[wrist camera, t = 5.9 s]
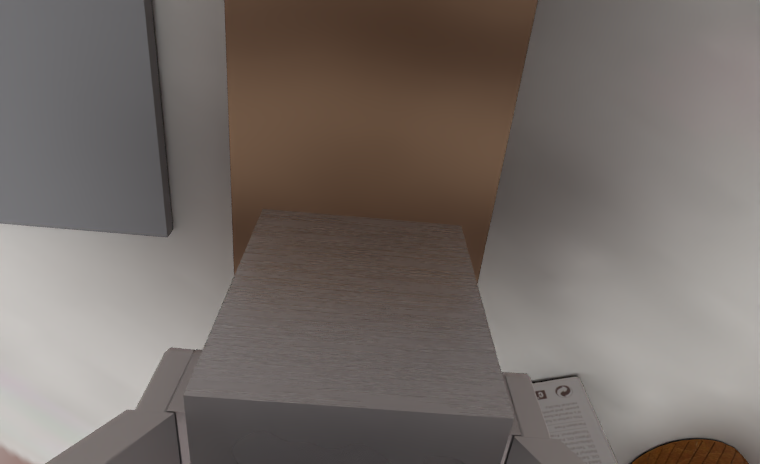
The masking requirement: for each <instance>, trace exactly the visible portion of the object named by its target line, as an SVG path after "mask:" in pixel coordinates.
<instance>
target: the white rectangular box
mask: <svg viewBox="0 0 760 464" xmlns="http://www.w3.org/2000/svg"><path fill="white" fill-rule="evenodd" d="M183 398H184V408H185V417H186V426H187V435H188V445H189V454H190V463H191V464H500V463H501V460H502V457H503V453H504V450H505V447H506V443H507V440H508V437H509V433H510V430H511V427H512V423H513V420H514V417H513V413H512V410H511V406H510V402H509V399H508V395H507V391H506V388H505V384H504V380H503V377H502V373H501V369H500V366H499V362H498V358H497V355H496V351H495V347H494V344H493V340H492V337H491V333H490V329H489V326H488V322H487V318H486V315H485V311H484V307H483V304H482V300H481V296H480V293H479V289H478V285H477V282H476V278H475V274H474V271H473V267H472V263H471V260H470V256H469V252H468V249H467V245H466V241H465V238H464V234H463V230H462V227H461V226H459V225H447V224H436V223H424V222H412V221H401V220H389V219H377V218H366V217H354V216H342V215H331V214H319V213H307V212H296V211H284V210H272V209H263V210H262V212H261V214H260V217H259V219H258V221H257V224H256V226H255V228H254V231H253V233H252V235H251V238H250V240H249V242H248V245H247V247H246V250H245V252H244V254H243V257H242V259H241V261H240V264H239V266H238V268H237V271H236V273H235V275H234V278H233V280H232V282H231V285H230V287H229V289H228V292H227V294H226V296H225V299H224V301H223V303H222V306H221V308H220V310H219V313H218V315H217V317H216V320H215V322H214V325H213V327H212V329H211V332H210V334H209V336H208V339H207V341H206V343H205V346H204V348H203V350H202V353H201V355H200V357H199V360H198V362H197V364H196V367H195V369H194V371H193V374H192V376H191V378H190V381H189V383H188V385H187V388H186V390H185V392H184V395H183Z"/></svg>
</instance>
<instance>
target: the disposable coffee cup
mask: <svg viewBox="0 0 760 464" xmlns="http://www.w3.org/2000/svg"><path fill="white" fill-rule="evenodd" d="M632 464H749V463H748V462H747V461H746V460H745V458H744V457H743V456H742V455H741V454H740V453H739V452H738V451H737V450H736V449H735V448H733V447H731V446H729V445H726V444H724V443H722V442H718V441H714V440H705V439H693V440H682V441H677V442H672V443H669V444H666V445H663V446H660V447H657V448H655V449H653V450H651V451H649V452H647V453H645V454H644V455H642V456H641V457H639V458H638V459H636V460H635V461H634V462H633V463H632Z"/></svg>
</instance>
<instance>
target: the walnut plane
mask: <svg viewBox="0 0 760 464" xmlns="http://www.w3.org/2000/svg"><path fill="white" fill-rule="evenodd" d="M224 2H225V30H226V58H227V86H228V114H229V142H230V170H231V198H232V226H233V254H234V275H235V273H236V271H237V268H238V266H239V264H240V261H241V259H242V257H243V254H244V252H245V250H246V247H247V245H248V242H249V240H250V238H251V235H252V233H253V231H254V228H255V226H256V224H257V221H258V219H259V217H260V214H261V212H262V210H263V209H272V210H284V211H296V212H307V213H319V214H331V215H342V216H354V217H366V218H377V219H389V220H401V221H412V222H424V223H436V224H447V225H459V226H461V227H462V230H463V234H464V238H465V241H466V245H467V249H468V252H469V256H470V260H471V263H472V267H473V271H474V274H475V278H476V282H477V283H478V278H479V273H480V269H481V264H482V259H483V255H484V250H485V245H486V241H487V236H488V231H489V227H490V222H491V217H492V213H493V208H494V203H495V199H496V194H497V189H498V185H499V180H500V175H501V171H502V166H503V161H504V157H505V152H506V147H507V143H508V138H509V133H510V129H511V124H512V119H513V115H514V110H515V105H516V101H517V96H518V91H519V86H520V82H521V77H522V72H523V68H524V63H525V58H526V54H527V49H528V44H529V40H530V35H531V30H532V26H533V21H534V16H535V12H536V7H537V2H538V0H224Z"/></svg>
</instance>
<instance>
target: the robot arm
mask: <svg viewBox="0 0 760 464" xmlns="http://www.w3.org/2000/svg"><path fill="white" fill-rule="evenodd" d="M201 353H202V350H191V349H181V348H172V347H171V348H169V349H168V350H167V351H166V352H165V353H164V355H163V357H162V359H161V361H160V363H159V365H158V367H157V369H156V371H155V372H154V374H153V376H152V378H151V380H150V382H149V384H148V386H147V388H146V390H145V392H144V394H143V396H142V398H141V400H140V401H139V403H138V405H137V407H136V409H135V410H126V411H124V412H123V413H121V414H120V415H118V416H117V417H115V418H114V419H112V420H111V421H109V422H108V423H106V424H105V425H103V426H102V427H100V428H99V429H97V430H95V431H94V432H92V433H91V434H89V435H88V436H86V437H85V438H83V439H82V440H80V441H79V442H77V443H76V444H74V445H73V446H71V447H70V448H68V449H67V450H65V451H64V452H62V453H61V454H59V455H58V456H56V457H55V458H53V459H52V460H50V461H49V462H47V463H46V464H191V463H190V454H189V445H188V435H187V426H186V417H185V408H184V398H183V395H184V392H185V390H186V388H187V385H188V383H189V381H190V378H191V376H192V374H193V371H194V369H195V367H196V364H197V362H198V360H199V357H200V355H201ZM502 377H503V380H504V384H505V388H506V391H507V395H508V399H509V402H510V406H511V410H512V413H513V417H514V420H513V423H512V427H511V430H510V433H509V437H508V440H507V443H506V447H505V450H504V453H503V457H502V460H501V463H500V464H585V463H584V462H583V461H582V460H581V459H580V458H579V457H578V456H577V455H575V454H574V453H573V452H572V451H571V450H570V449H569V448H568V447H567V446H566V445H564V444H563V443H562V442H561V441H560V440H559V439H551V437H550V434H549V431H548V428H547V425H546V422H545V419H544V416H543V413H542V410H541V407H540V405H539V402H538V399H537V396H536V393H535V390H534V387H533V384H532V381H531V378H530V377H529V376H528V375H527V374H524V373H506V372H502Z"/></svg>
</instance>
